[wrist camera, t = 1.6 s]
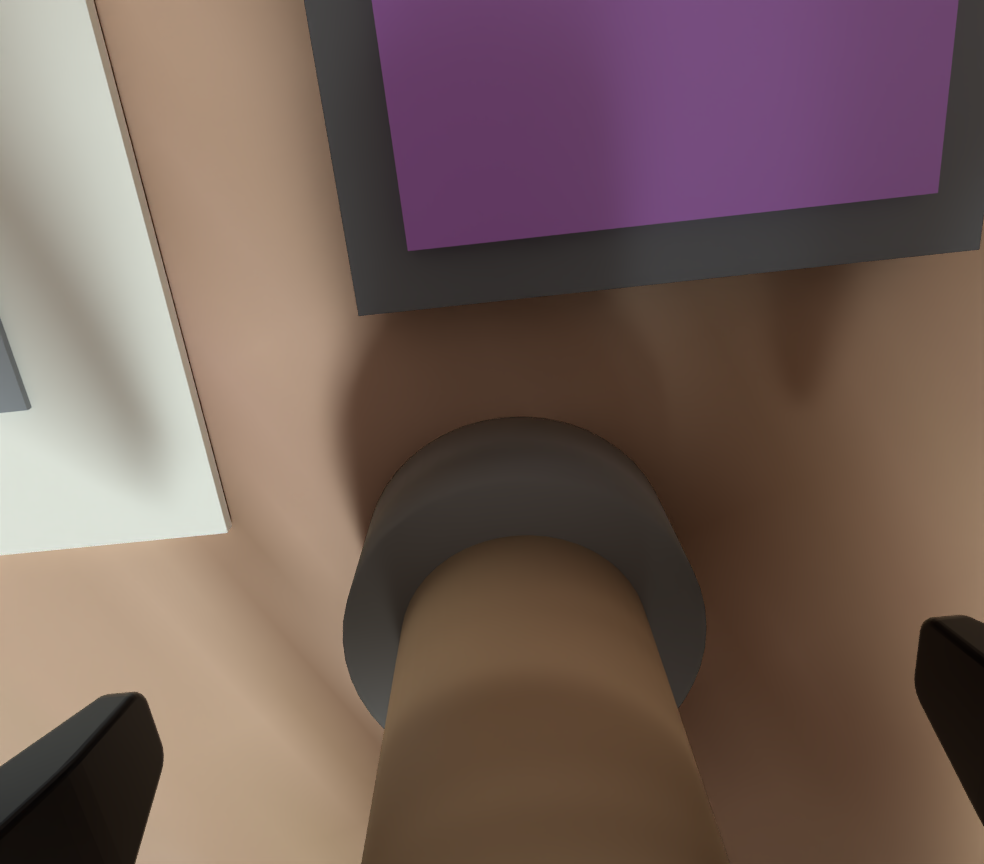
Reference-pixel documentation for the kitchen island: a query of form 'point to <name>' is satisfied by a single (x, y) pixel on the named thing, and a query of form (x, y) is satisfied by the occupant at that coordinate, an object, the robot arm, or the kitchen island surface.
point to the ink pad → (643, 140)
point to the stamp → (528, 657)
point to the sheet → (86, 311)
